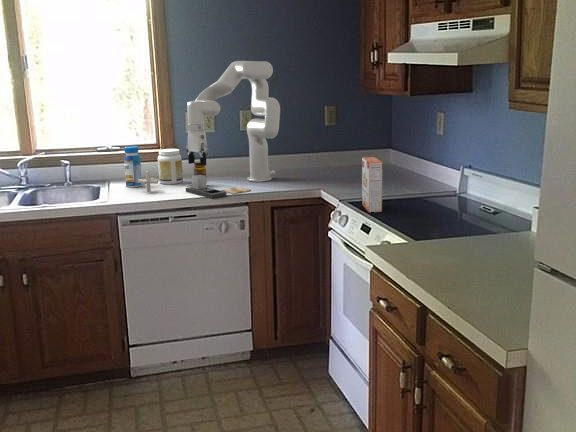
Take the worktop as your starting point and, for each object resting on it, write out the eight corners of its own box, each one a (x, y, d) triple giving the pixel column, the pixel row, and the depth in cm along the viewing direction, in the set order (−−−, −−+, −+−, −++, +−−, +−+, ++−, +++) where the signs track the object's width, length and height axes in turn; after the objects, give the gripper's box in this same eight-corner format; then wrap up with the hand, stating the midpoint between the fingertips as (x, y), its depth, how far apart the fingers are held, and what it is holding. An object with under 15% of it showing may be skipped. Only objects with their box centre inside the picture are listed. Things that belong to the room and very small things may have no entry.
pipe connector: (163, 190, 319) (161, 169, 317) (152, 194, 310) (151, 173, 308) (145, 189, 322) (143, 169, 320) (134, 193, 313) (132, 172, 311)
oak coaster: (237, 188, 320) (237, 186, 320) (250, 190, 313) (250, 189, 313) (221, 191, 314) (221, 189, 314) (233, 194, 307) (233, 192, 307)
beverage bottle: (143, 186, 328) (140, 147, 323) (126, 188, 326) (123, 148, 321) (141, 183, 336) (139, 145, 331) (125, 185, 333) (121, 146, 329)
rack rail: (199, 189, 319) (199, 185, 318) (226, 196, 303) (226, 191, 302) (185, 191, 314) (185, 187, 313) (212, 198, 298) (212, 194, 297)
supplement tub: (179, 179, 346) (177, 147, 342) (186, 183, 335) (184, 150, 331) (156, 181, 341) (154, 149, 337) (162, 185, 330) (160, 152, 326)
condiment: (209, 186, 327) (208, 162, 324) (194, 188, 323) (193, 164, 320) (203, 183, 333) (202, 160, 330) (188, 185, 329) (186, 162, 326)
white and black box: (201, 191, 315) (200, 174, 313) (207, 192, 312) (206, 176, 310) (192, 192, 312) (191, 176, 310) (198, 194, 309) (197, 177, 307)
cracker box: (361, 205, 279) (361, 156, 274) (375, 204, 280) (375, 156, 275) (367, 213, 266) (368, 162, 261) (382, 212, 266) (383, 161, 261)
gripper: (213, 128, 301) (214, 165, 304) (192, 126, 313) (193, 161, 317) (199, 129, 296) (201, 167, 300) (179, 127, 308) (180, 163, 312)
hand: (197, 164), depth 308 cm, fingers open, 9 cm apart
